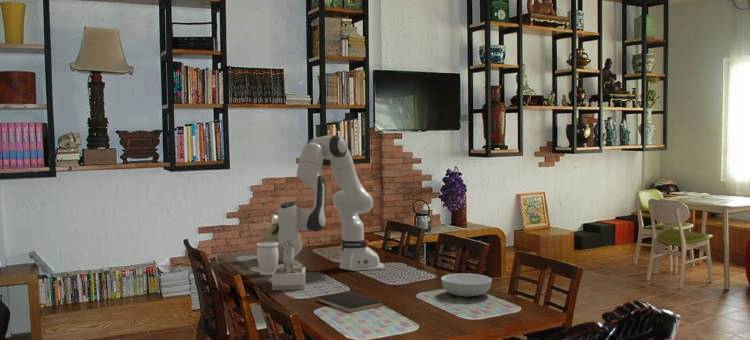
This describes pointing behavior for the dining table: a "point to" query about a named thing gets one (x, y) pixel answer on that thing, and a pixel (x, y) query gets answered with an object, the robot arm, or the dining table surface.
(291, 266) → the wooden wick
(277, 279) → the white square box
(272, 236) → the beige rounded piece
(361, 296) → the hardcover book
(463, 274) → the serving bowl
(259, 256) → the jar
